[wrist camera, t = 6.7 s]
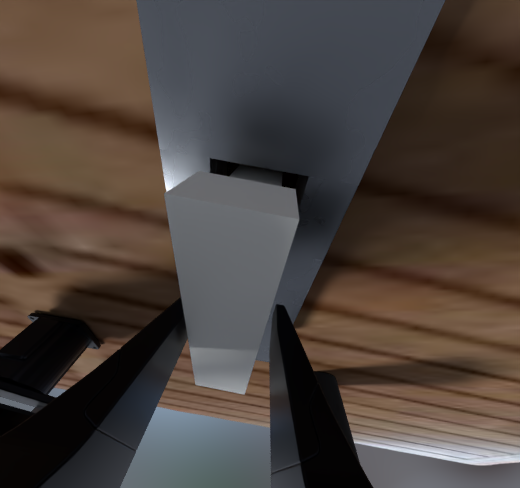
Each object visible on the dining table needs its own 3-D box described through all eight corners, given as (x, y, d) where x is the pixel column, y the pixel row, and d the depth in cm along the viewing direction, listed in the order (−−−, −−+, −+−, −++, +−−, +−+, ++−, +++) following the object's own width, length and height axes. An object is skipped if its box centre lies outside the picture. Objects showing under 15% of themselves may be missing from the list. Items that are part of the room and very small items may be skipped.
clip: (258, 299, 17) (244, 394, 11) (226, 292, 17) (195, 384, 11) (291, 158, 10) (299, 219, 4) (235, 147, 10) (164, 193, 4)
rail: (275, 332, 20) (274, 363, 17) (202, 319, 20) (191, 348, 17) (392, 27, 7) (455, -22, 4) (180, -14, 7) (122, -87, 4)
